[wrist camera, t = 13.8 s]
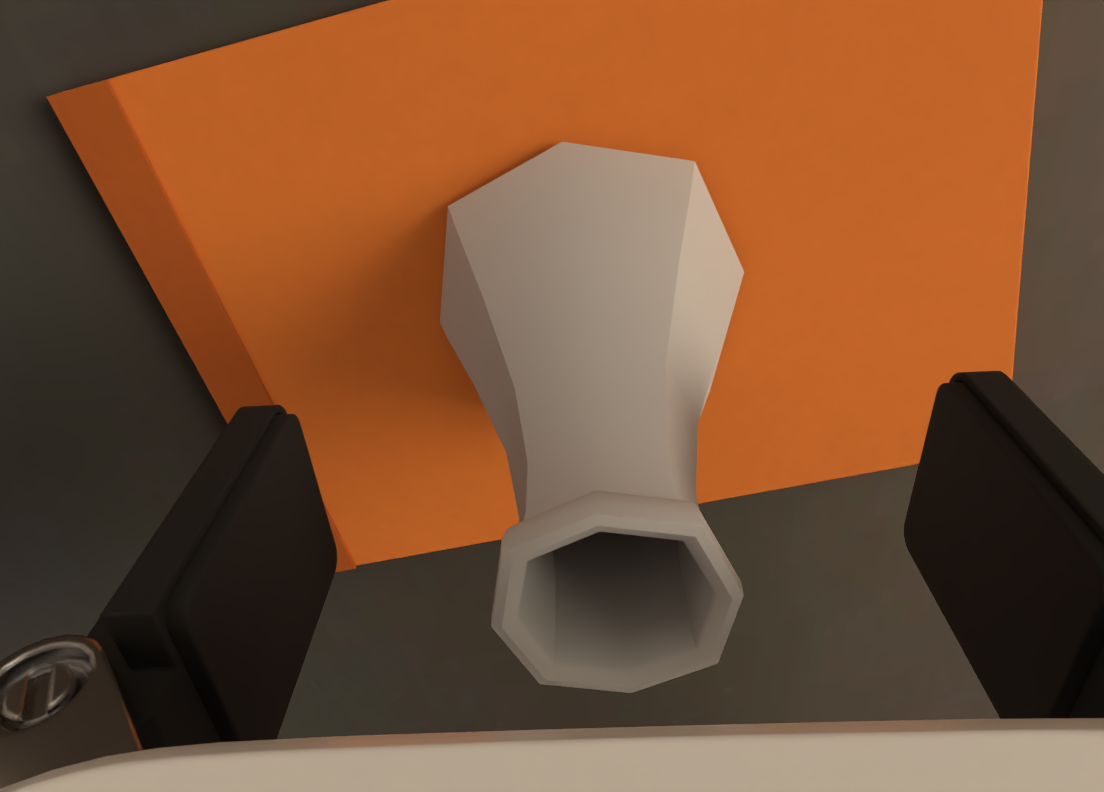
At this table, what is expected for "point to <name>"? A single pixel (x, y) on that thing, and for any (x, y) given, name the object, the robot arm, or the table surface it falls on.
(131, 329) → the table surface
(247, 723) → the robot arm
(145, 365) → the table surface
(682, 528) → the flask
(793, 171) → the orange rectangular board
